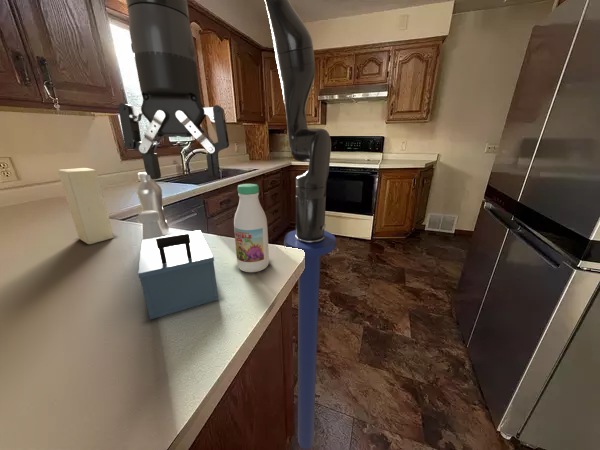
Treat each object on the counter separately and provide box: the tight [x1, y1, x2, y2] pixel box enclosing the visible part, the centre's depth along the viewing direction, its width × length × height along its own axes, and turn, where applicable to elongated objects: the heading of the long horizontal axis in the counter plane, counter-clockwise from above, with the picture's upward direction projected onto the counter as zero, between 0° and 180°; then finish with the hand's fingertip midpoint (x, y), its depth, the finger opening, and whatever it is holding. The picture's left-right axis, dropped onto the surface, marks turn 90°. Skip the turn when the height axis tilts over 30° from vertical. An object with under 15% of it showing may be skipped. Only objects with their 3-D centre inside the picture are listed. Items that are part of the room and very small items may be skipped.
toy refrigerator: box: [57, 167, 114, 245], centre depth 73 cm, size 8×7×21 cm
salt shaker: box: [137, 211, 163, 240], centre depth 61 cm, size 6×6×13 cm
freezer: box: [139, 260, 219, 320], centre depth 50 cm, size 15×12×9 cm
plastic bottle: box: [135, 171, 170, 236], centre depth 74 cm, size 6×7×20 cm
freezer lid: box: [137, 229, 215, 279], centre depth 47 cm, size 15×12×5 cm
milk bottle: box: [233, 183, 270, 273], centre depth 57 cm, size 8×8×20 cm
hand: (184, 177), depth 39 cm, fingers open, 8 cm apart
